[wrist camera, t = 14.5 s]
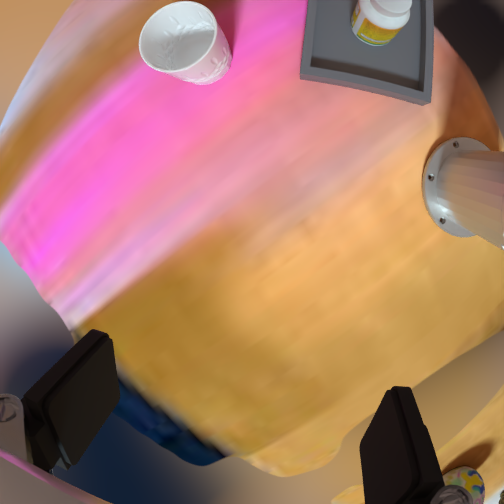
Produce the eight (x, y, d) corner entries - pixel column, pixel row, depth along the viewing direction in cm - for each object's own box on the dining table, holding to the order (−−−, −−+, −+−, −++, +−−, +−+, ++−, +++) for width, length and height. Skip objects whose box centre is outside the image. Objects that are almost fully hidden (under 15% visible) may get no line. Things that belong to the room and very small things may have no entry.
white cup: (221, 22, 32) (197, -12, 23) (248, 71, 34) (231, 45, 24) (165, 52, 34) (128, 28, 25) (189, 101, 36) (155, 87, 26)
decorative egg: (485, 460, 47) (503, 506, 33) (454, 489, 51) (466, 533, 37) (452, 460, 48) (468, 512, 34) (420, 489, 52) (429, 539, 38)
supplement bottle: (341, 16, 29) (353, -21, 20) (379, 5, 28) (399, -31, 19) (364, 52, 30) (383, 24, 21) (401, 41, 29) (428, 12, 20)
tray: (424, -7, 27) (431, -16, 24) (422, 105, 32) (430, 102, 29) (312, -33, 28) (312, -44, 25) (299, 79, 33) (299, 73, 31)
